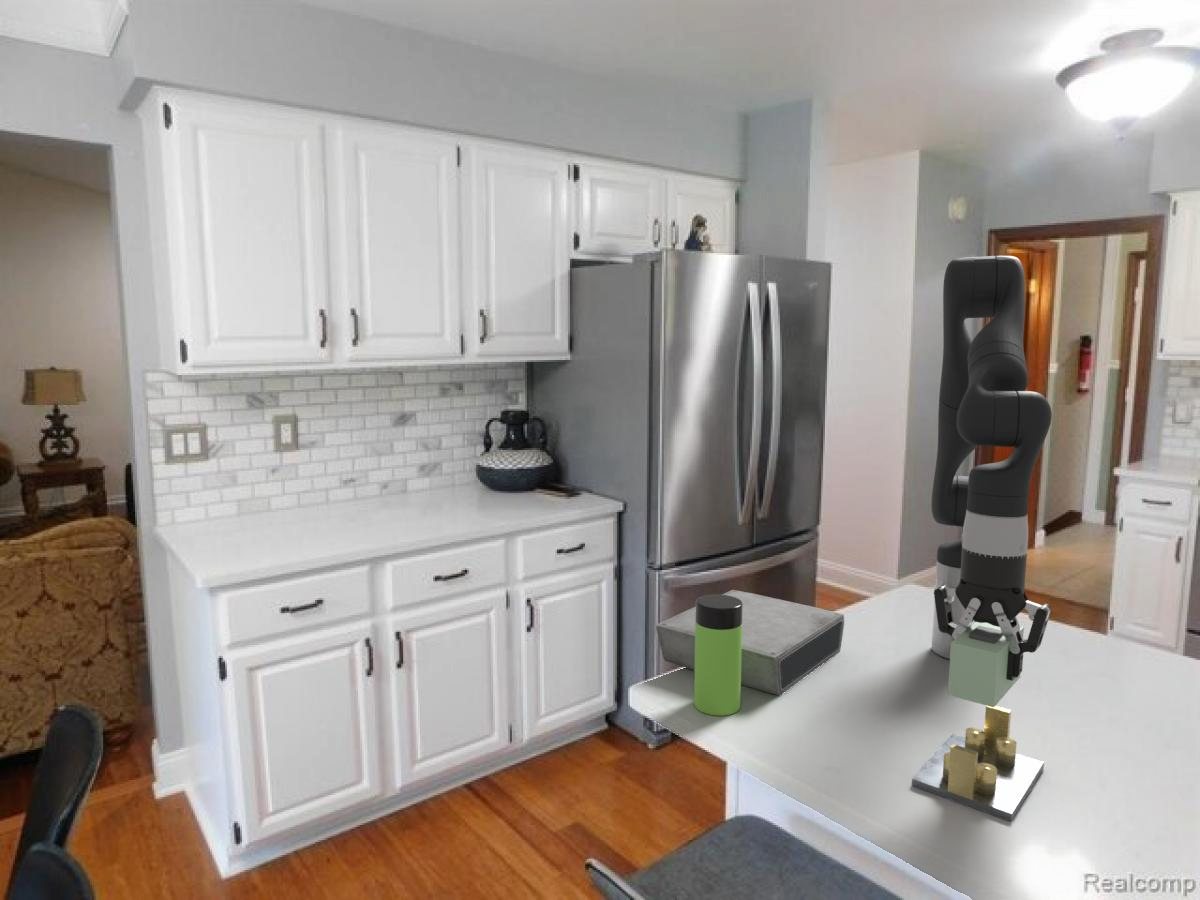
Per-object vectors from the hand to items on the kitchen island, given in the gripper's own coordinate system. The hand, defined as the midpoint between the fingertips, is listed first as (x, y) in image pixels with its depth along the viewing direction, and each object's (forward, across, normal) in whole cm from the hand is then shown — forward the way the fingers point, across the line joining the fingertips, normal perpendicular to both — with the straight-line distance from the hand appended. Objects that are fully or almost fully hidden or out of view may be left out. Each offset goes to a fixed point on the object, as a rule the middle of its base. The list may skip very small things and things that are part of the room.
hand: (985, 671), depth 105 cm
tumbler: (+15, +38, +5) cm, 41 cm away
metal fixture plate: (+15, 0, 0) cm, 15 cm away
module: (+2, 0, 0) cm, 2 cm away
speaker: (+15, +44, -17) cm, 49 cm away
